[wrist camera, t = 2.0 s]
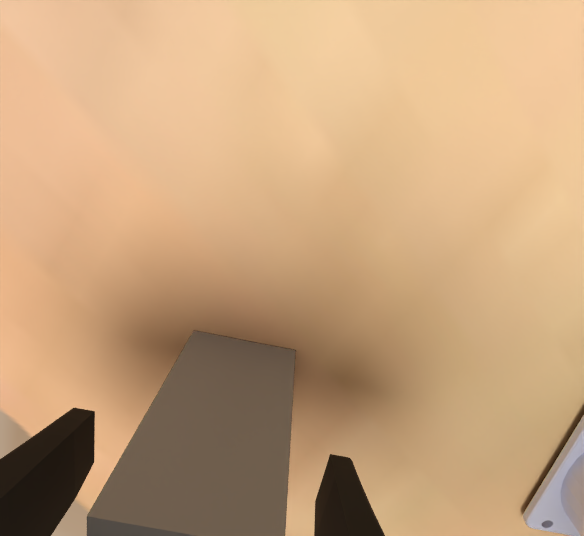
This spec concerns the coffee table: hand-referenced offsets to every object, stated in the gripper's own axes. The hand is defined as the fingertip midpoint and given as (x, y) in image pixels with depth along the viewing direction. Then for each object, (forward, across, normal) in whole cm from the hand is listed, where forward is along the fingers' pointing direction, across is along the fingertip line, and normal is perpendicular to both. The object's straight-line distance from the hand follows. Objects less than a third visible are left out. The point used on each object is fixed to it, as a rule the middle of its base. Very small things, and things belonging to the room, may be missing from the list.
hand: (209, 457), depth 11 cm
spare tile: (+5, 0, 0) cm, 5 cm away
